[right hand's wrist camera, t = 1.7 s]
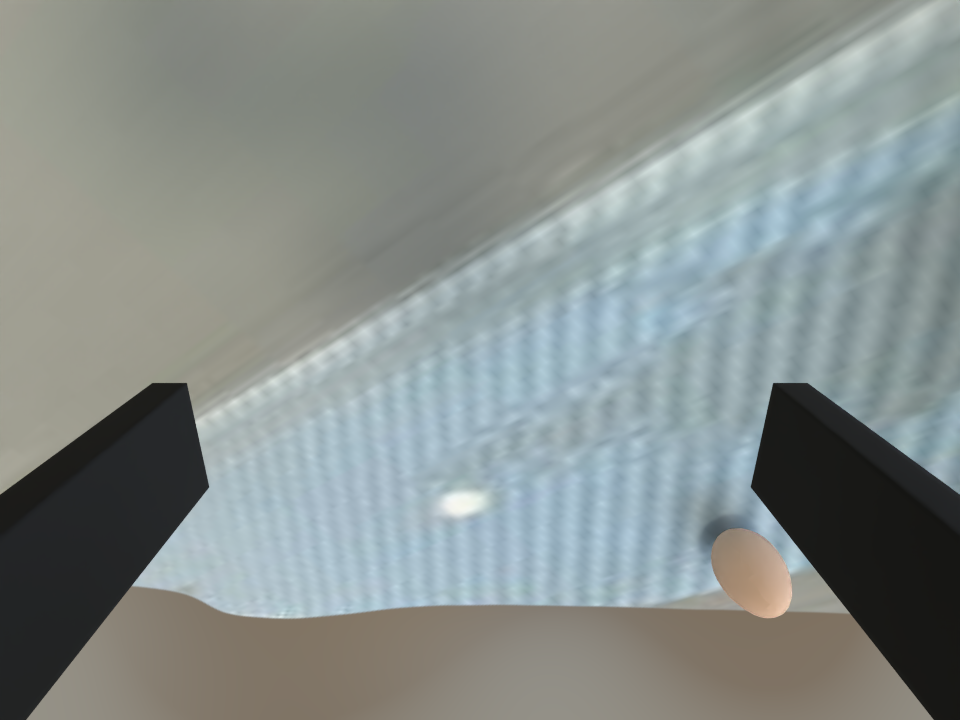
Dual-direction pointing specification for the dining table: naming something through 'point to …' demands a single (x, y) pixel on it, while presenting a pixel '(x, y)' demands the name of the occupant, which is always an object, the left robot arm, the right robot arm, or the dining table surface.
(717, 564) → the egg
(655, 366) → the dining table surface
